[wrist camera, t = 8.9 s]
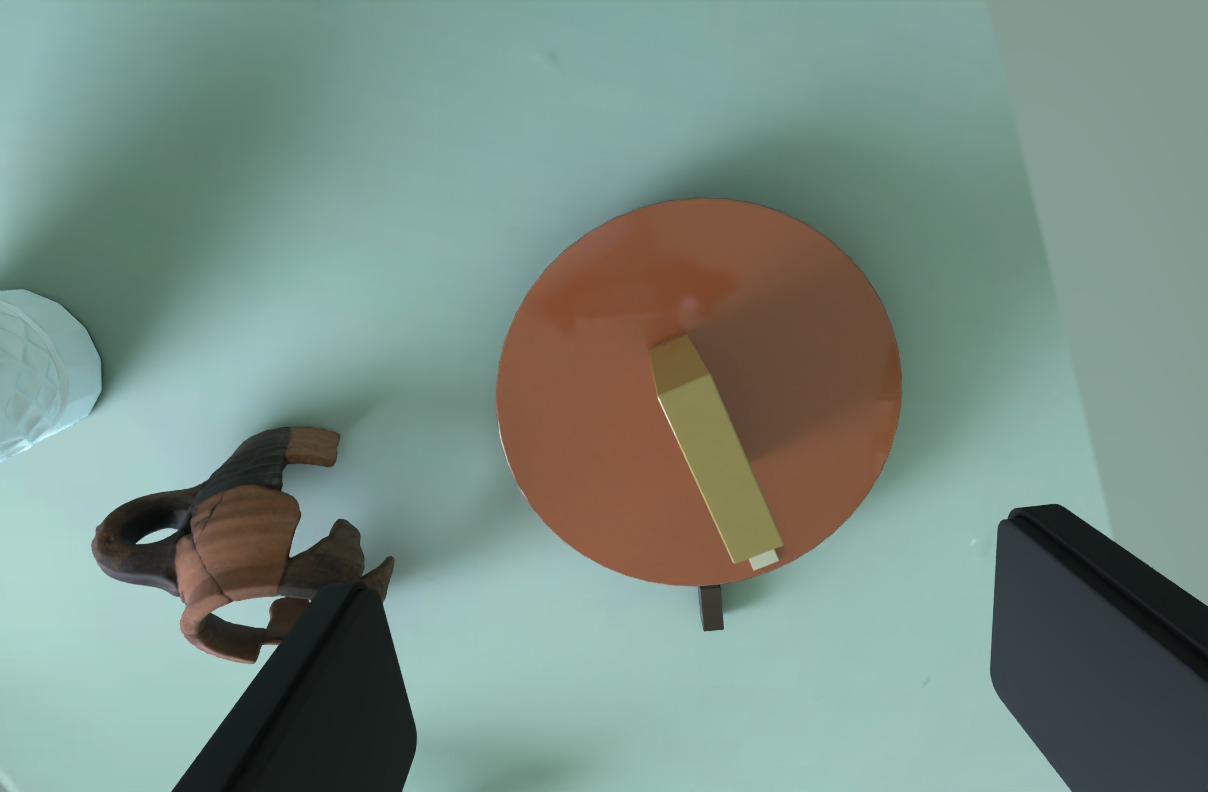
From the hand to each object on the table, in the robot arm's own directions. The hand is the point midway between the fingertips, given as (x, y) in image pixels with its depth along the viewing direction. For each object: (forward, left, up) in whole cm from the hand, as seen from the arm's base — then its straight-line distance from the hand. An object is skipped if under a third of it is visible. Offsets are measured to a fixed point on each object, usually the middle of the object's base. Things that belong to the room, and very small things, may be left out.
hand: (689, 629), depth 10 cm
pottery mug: (+6, -18, -21) cm, 28 cm away
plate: (+2, +2, -18) cm, 19 cm away
